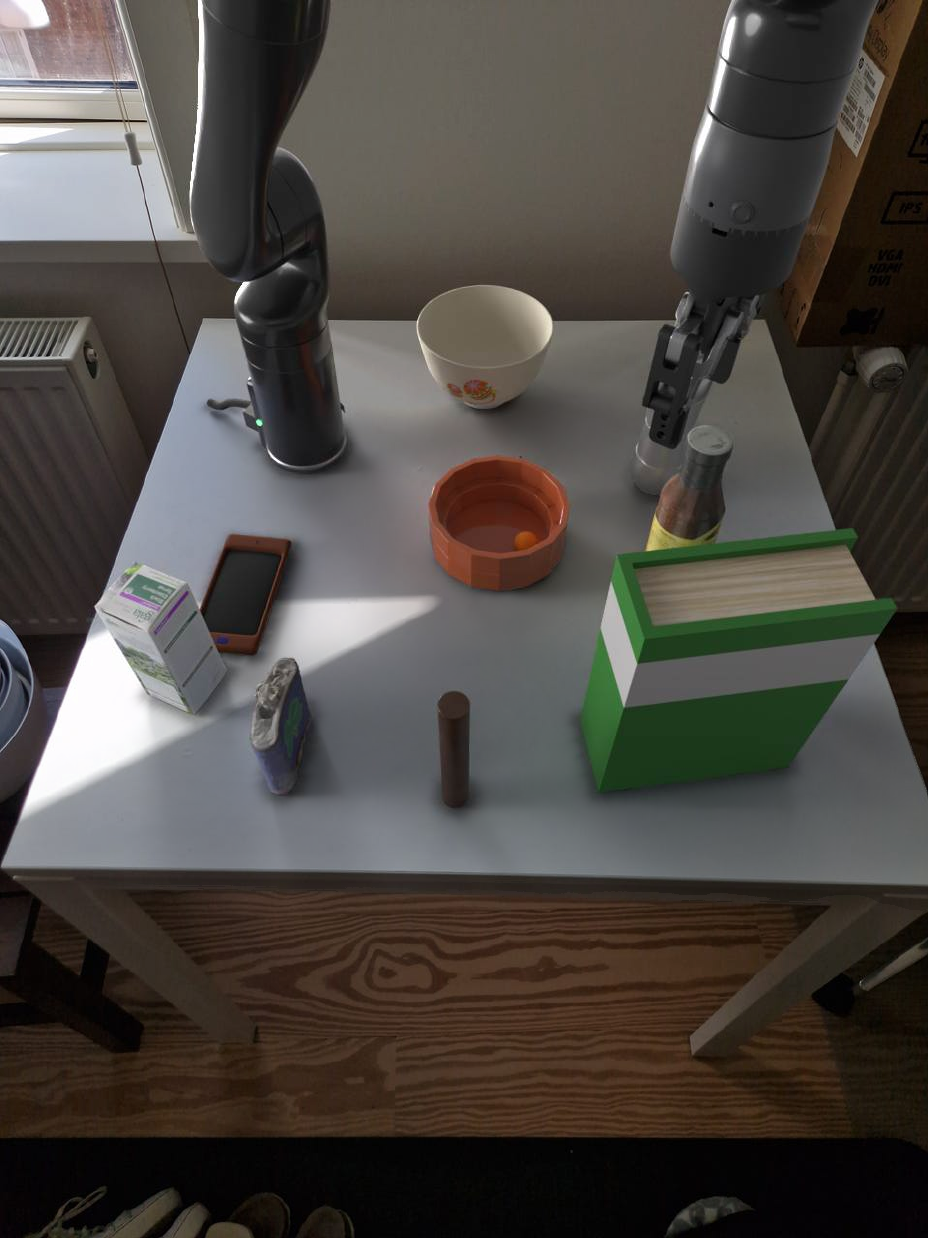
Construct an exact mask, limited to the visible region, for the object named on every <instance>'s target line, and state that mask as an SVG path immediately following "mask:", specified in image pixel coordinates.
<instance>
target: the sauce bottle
mask: <svg viewBox="0 0 928 1238" xmlns="http://www.w3.org/2000/svg"><path fill="white" fill-rule="evenodd" d="M733 449H734V439H733V437H732V435H731V434H730V433H728V432H727V430H724V429H722V428H721V427H719V426H715V425H699V426H697V427H694V428H693V429H692V430H691V431H690V432H689V433H688V435H687V438H686V442H685V445H684V452H685V454H684V458H683V462H682V465H681V466H680V468H679V473H677V474H676V475H674V476H673V477H672V478H670V480H668V482H667V483H666V484H665V486H664V487H663V490H662V492H661V495H659V499H658V504H657V506H656V509H655V512H654V516H653V519H652V523H651V527H650V532H649V535H648V540H647V544H646V547H645V551H652V550H661V549H670V548H679V547H688V546H697V545H706V544H715V543H717V538H718V535H719V531H720V529H721V526H722V523H723V521H724V517H725V514H726V504H725V497H724V490H723V482H722V481H723V474H724V472H725V471H724V470H725V468H726V466H727V462H728V461H729V460H730V459H731V457H732V452H733Z"/></svg>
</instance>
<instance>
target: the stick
mask: <svg viewBox="0 0 928 1238" xmlns="http://www.w3.org/2000/svg"><path fill="white" fill-rule="evenodd" d="M436 706H437V708H436V709H437V726H438V745H439V760H440V761H439V765H440V785H441V798H442V801H443V803H444V805H446V806H447V807H448V808H452V809H459V808H462V807H464V806H466V804H467V803H468V802H469V799H470V749H471V748H470V746H471V745H470V740H471V739H470V736H471V735H470V734H471V731H470V729H471V702H470V699H469V697H468V696H467V695H466V694H465V693H464V692H462V691H459V690H449V691H446V692H444V693H442V694H441V695H440V697H439V698H438V701H437V705H436Z"/></svg>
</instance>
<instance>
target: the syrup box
mask: <svg viewBox="0 0 928 1238" xmlns="http://www.w3.org/2000/svg"><path fill="white" fill-rule="evenodd" d="M94 608H95V612H96V613H97V614H98V616H99V617H100V619H101V621H102V622H103V625H104V626H105V628H106V629H107V631H108V633H109V634H110V636H111V637H112V639H113V640H114V642H115V644H116V646H117V647H118V649H119V650H120V652H121V653H122V655H123V657H124V659H125V661H126V662H127V664H128V665H129V667H130V668H131V670H132V672H133V673H134V675H135V676H136V678H137V680H138V681H139V684H141V687H142V688H143V690H144V691H145V693H146V695H148V696H149V697H152V698H154V699H156V700H159V701H161V702H163V703H165V704H167V705H170V706H172V707H174V708H176V709H179V710H181V711H183V712H186V713H188V714H189V715H192V716H194V715H196V714H197V713H198V712H199V710H200V709H201V708H202V706H204V704H205V702H206V701H207V700H208V698H209V697H210V696H211V694H212V693H213V692H214V690H215V689H216V688H217V686H218V685H219V683H220V682H221V681H222V679H224V677H225V675H226V674H227V668H226V666H225V664H224V662H223V659H222V657H221V654H220V653H219V652H218V650H217V648H216V646H215V644H214V641H213V639H212V637H211V635H210V632H209V630H208V628H207V626H206V623H205V621H204V619H203V616H202V614H201V612H200V610H199V609H200V607H199V605H198V603H197V600H196V598H195V596H194V594H193V591H192V589H191V587H190V585H189V583H188V582H187V581H183V580H181V579H179V578H176V577H174V576H171V575H170V574H167V573H164V572H161V571H159V570H157V569H155V568H152V567H150V566H147V565H144V564H142V563H140V562H138V561H133V563H132V564H130V565H129V566H128V568H127V569H125V571H124V572H123V573H121V575H120V576H118V577H117V579H115V581H114V582H113V583H112V585H110V587H109V588H108V589H107V591H105V593H104V594H103V595H102V596H101V597H100V599H99V600H98V602H97V603H96V604H95V605H94Z"/></svg>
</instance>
